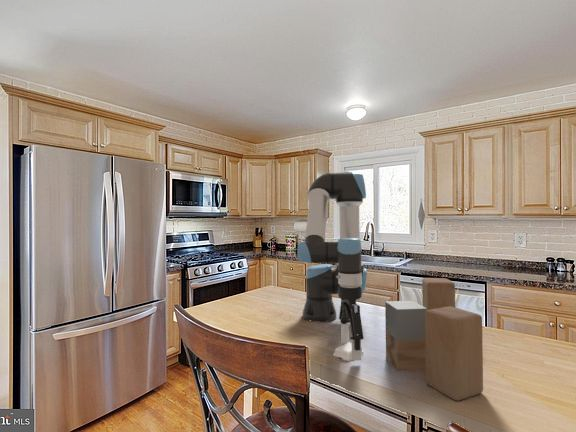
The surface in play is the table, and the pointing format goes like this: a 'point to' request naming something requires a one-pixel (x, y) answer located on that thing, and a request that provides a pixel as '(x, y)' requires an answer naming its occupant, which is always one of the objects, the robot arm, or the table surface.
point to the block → (454, 352)
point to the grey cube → (405, 320)
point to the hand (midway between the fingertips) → (350, 350)
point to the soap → (345, 351)
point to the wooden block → (438, 293)
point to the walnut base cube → (405, 354)
